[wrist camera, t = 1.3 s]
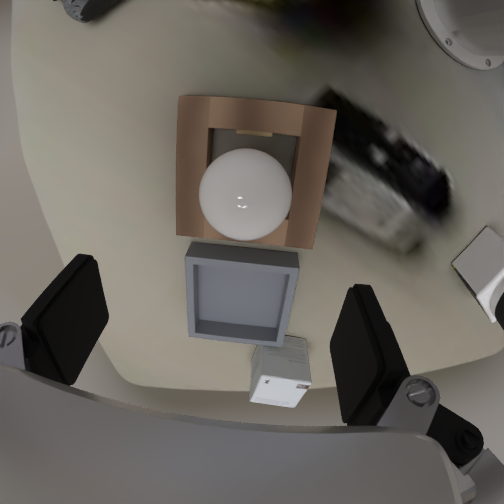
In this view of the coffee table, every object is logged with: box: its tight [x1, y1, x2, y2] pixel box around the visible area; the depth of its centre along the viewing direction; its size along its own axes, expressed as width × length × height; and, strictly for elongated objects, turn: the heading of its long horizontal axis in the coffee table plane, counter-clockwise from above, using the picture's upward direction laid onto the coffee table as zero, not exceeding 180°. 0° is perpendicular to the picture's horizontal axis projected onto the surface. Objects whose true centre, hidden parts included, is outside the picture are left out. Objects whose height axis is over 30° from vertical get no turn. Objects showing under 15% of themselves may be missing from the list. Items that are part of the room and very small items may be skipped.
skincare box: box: [250, 336, 312, 407], centre depth 36 cm, size 6×6×7 cm
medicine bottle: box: [452, 226, 504, 330], centre depth 25 cm, size 7×7×12 cm
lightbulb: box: [199, 148, 292, 241], centre depth 22 cm, size 6×6×11 cm
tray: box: [185, 242, 300, 347], centre depth 33 cm, size 11×11×3 cm
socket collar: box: [176, 96, 337, 249], centre depth 26 cm, size 13×13×2 cm
